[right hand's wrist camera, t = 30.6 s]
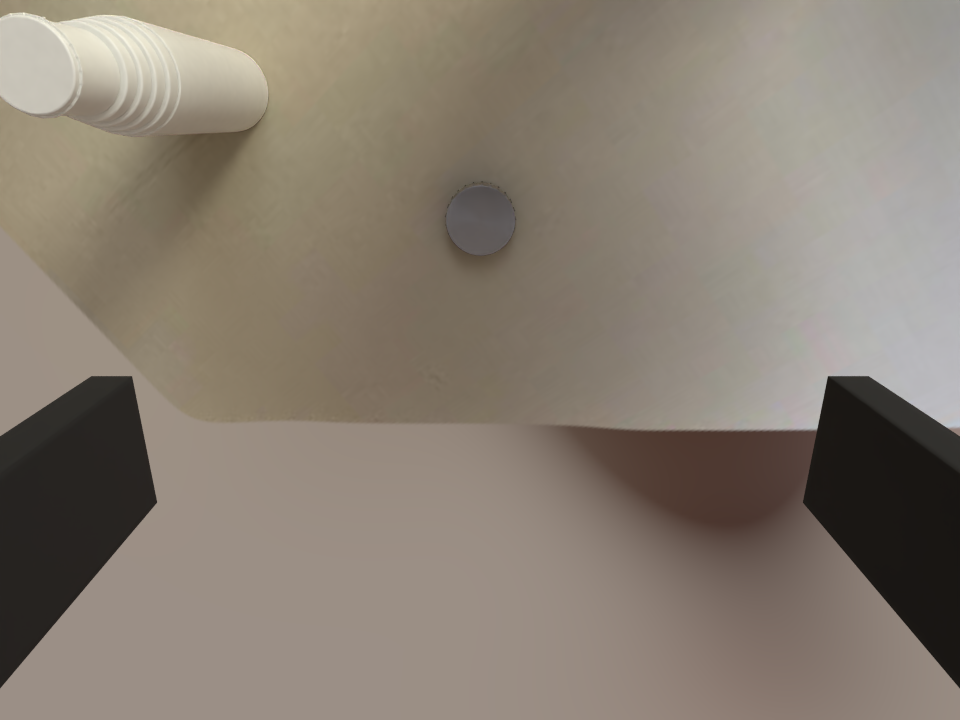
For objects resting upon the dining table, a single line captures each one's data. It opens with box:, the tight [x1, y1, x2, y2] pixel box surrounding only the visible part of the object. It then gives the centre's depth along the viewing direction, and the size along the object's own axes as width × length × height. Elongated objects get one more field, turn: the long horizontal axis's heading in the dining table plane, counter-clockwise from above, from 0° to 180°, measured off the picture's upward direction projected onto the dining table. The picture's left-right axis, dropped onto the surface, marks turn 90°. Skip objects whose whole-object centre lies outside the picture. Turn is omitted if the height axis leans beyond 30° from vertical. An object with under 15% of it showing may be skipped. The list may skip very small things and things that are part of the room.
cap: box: [445, 182, 516, 256], centre depth 41 cm, size 4×4×2 cm
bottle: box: [0, 13, 268, 137], centre depth 31 cm, size 5×5×19 cm
